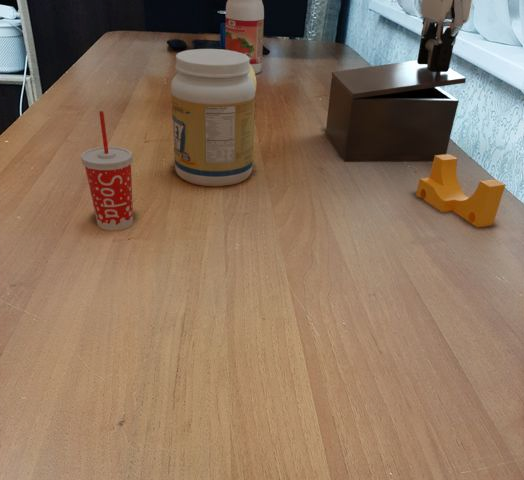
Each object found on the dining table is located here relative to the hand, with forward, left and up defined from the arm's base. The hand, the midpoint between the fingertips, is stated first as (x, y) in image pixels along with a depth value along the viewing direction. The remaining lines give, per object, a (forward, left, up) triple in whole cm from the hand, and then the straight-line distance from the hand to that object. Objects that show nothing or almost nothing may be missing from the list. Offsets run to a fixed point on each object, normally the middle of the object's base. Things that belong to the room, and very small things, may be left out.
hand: (432, 66), depth 96 cm
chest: (+6, 0, -14) cm, 15 cm away
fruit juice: (+26, -59, -14) cm, 66 cm away
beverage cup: (+52, +30, -14) cm, 62 cm away
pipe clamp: (+5, +29, -14) cm, 32 cm away
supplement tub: (+38, +13, -14) cm, 42 cm away
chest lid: (+6, 0, -2) cm, 7 cm away
